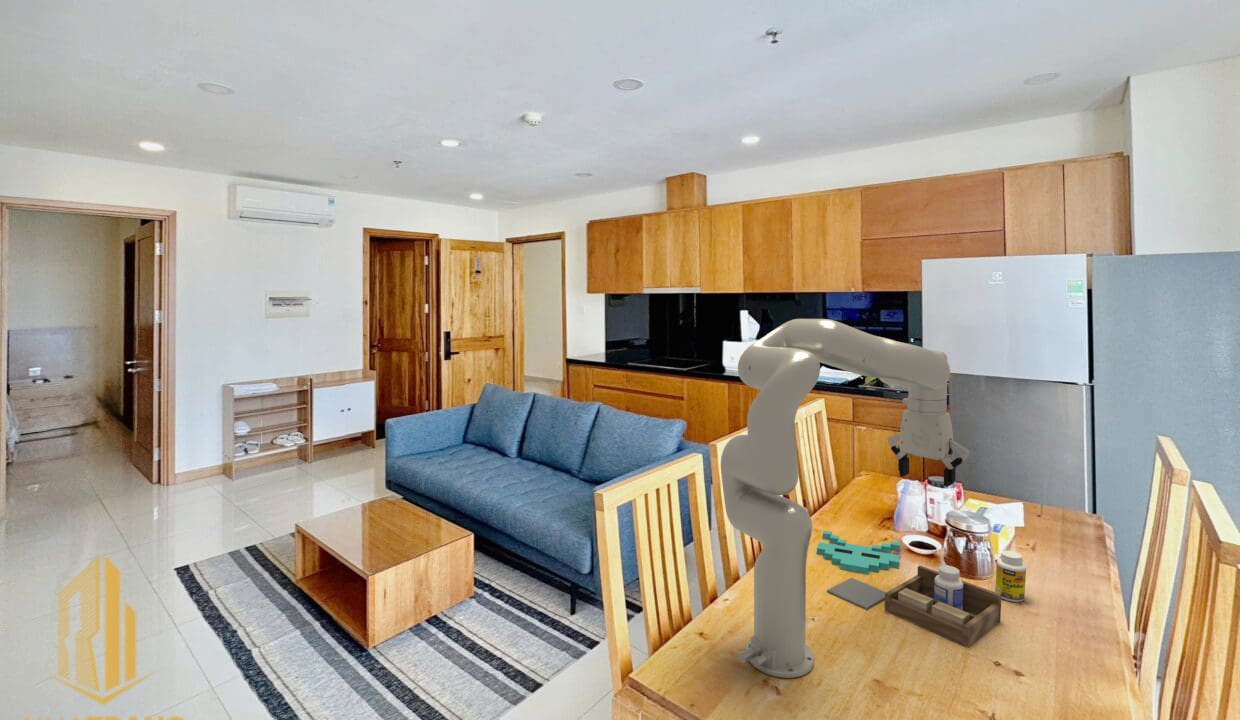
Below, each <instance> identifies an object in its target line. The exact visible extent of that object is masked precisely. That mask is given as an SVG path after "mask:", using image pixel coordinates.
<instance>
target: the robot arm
mask: <svg viewBox="0 0 1240 720" xmlns="http://www.w3.org/2000/svg"><path fill="white" fill-rule="evenodd" d="M820 363H821V364H824V365H827V366H830V367H834V368H837V369H840V370H844V371H846V372H848V373H852V374H856V375H859V376H864V377H869V378H874V379H875V378H877V379H878V380H880V381H881V383H884V384H886V385H888V386H893V387H901V388H908V396H907V398H905V397H904V398H903V399H902V404H903V405H906V407H907V409H904V411H903V413H902V419H901V424H900V429H899V430H900V432H899V434H896V435H893V436H889V437H888V438H887V442H888V444H889V446H890V450H891V451H892V453H894V455H895V457H896V459H897V460H898V464H897V465H898V472H899V477H906V476H907V475H909V474H910V458H909V455H910V456H915V457H920V458H926V459H931V460H940V461H941V462H942V463H943V465H945V468H944V469H943V486H944V487H946V488H948V487H950V486H952V485H953V484H954V483H955V482H956V468H958V467H959V466H960V465H961V464H962V463H964V462H966V461H965V460H966V459H967V457H968V456H969V454H970V450H969V449H967V448H966V447H965V446H963V445H961V444H960V443H959V442H956V441H954V433H953V424H952V419H951V414H950V413H949V412H947V406H948V404H947V401H948V399H947V397H948V396H947V395H948V389H947V388H948V382H949V380H950V376H951V366H950V364H949V362H948V356H947V354H946V352H943V351H940V350H932V349H931V350H930V349H928V348H925V347H922V346H920V345H919V346H918V345H916V344H915V345H914V344H910V343H906V342H901V341H898V340H897V341H896V340H895V339H891V338H886V337H881V336H877V335H873V334H871V333H868V332H865V331H862V330H860V329H858V328H855V327H852V326H849V325H848V324H845V323H842V322H840V321H837V320H833V319H830V318H829V319H828V318H827V319H826V318H796V319H795V318H794V319H791V320H789V321H786V322H784V323H782V324H781V325H779V326H778V327H775V328H774V329H773V330H772V331H769V332H768V333H767V334H766V335H764V336H763V337H761V338H760V339H758V340H757V341H756V342H753V343H752V344H751V345H750V346H748V347H747V348H746V349H745V350H744V351H743V353H742V354H741V356H740V357H739V360H738V363H737V373H738V376H739V378H740V380H741V381H742V383H743V384H745V385H747V386H748V387H750V388H753V389H756V390H759V392H758V393H757V395H756V397H755V398H754V399H753V400H752V402H751V405H750V406H749V409H748V412H747V416H746V417H747V418H746V425H747V426H746V428H747V434H738V435H735V436H733V437H732V438H731V439H730V440H728V441H727V443H726V444H725V446H724V447H723V451H722V453H721V456H720V457H721V458H720V475H721V482H722V484H721V485H722V490H723V498H724V499H723V501H724V508H725V513H726V516H727V519H728V521H729V523H730V525H731V526H732V527H734V529H736V530H737V531H739V532H740V533H742V534H744V535H745V536H749V537H751V538H752V539H754V540H755V541H757V542H760V543H761V545H762V549H761V551H760V553H759V554H758V556H757V558H756V559H755V562H754V565H753V566H754V567H753V612H754V613H753V630H754V631H753V636H751V637H750V640H748V641H747V644H746V645H745V649H743V650H742V651H740V652H738V653H737V659H738V661H739V662H740V663H741V664H745V663H748V662H749V663H750V664H751V665H752V666H753V667H754V668H756V669H757V670H759V671H761V672H762V673H764V674H765V675H769V676H772V677H776V678H784V679H785V678H786V679H791V678H798V677H799V678H800V677H801V676H804V675H806V674H808V673H809V672H811V670H812V669H813V667H814V664H815V659H814V658H815V657H814V653H813V651H812V650H811V648H810V646H808V645H807V644H806V623H807V622H806V616H807V615H806V611H807V609H806V605H807V602H806V601H807V599H806V597H807V593H806V592H807V589H806V588H807V578H806V577H807V561H808V560H807V558H808V551H809V547H810V542H811V539H812V533H813V522H812V517H811V516H810V514H809V512H808V510H806V509H805V508H804V507H803V506H802V505H801V504H799V503H797V502H796V501H794V500H791V499H789V498H787V497H784V496H785V495H788V494H790V493H792V492H793V491H794V490H795V489H796V487H797V485H798V481H799V461H798V451H797V450H798V449H797V440H796V425H795V424H796V416H797V412H798V410H799V408H800V406H801V405H802V403H803V401H804V400H805V399H806V398H807V396H808V394H809V393H810V392H811V391H812V390H813V389H814V387H815V385H816V384H817V383H818V379H819V377H820V374H821V364H820ZM898 441H899V442H898ZM954 451H956V452H957V453H958V456H957V457H956V458H955V457H954V456H953V453H954Z"/></svg>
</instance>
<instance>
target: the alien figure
mask: <svg viewBox="0 0 1240 720" xmlns="http://www.w3.org/2000/svg"><path fill="white" fill-rule="evenodd" d="M824 539H825V540H826V541H829V543H828V542H822V541H819V542H818V545H817V547H816V555H819V556H822V557H823V560H826V561H831V564H832V565H835V566H839V570H841V571H846V572H852V573H857V574H861V575H862V574H863V575H867V576H868V575H869V573H870V572H872V573H873V572H874V573H879V572H880V570H883V571H888V572H889V570H890V569H889V568H891V569H892V568H893V569H897V570H898V569H899V568H900V567H899V566H900V555H899V554H893V553H891V551H892V552H898V553H899V552H900V550H901V542H899V541H893V540H891V541H890V543H888V542H887V543H886V542H881V545H877V544H872V546H865V545H861V544H860V545H858V544H854V543H853V544H852V543H847V542H848V541H847V539H843V538H842V539H841V538H840V535H837V534H835V535H834V534H833V532H832V531H829V530H823V533H822V540H824Z"/></svg>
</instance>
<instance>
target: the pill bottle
mask: <svg viewBox="0 0 1240 720" xmlns="http://www.w3.org/2000/svg"><path fill="white" fill-rule="evenodd" d="M937 572H938V573H939V575H937V576H936V577H935V587H934V598H933V599H936V600H938V601H941V602H943V603H946V604H948V605H951V606H953V607H956V608H958V609H961V610H963V611H964V609H963V582H962V581H963V580H962V579H960V578H961V577H960V576H961V575H960V574H961V573H960V570H959V568H957V567H954V566H952V565H947V564H946V565H945V564H943V565H940V566H938V571H937ZM961 580H962V581H961Z"/></svg>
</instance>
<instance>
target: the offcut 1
mask: <svg viewBox="0 0 1240 720" xmlns="http://www.w3.org/2000/svg"><path fill="white" fill-rule="evenodd" d="M921 594H922V593H920V594H919V593H916V592H914V591H911V590H909V589H906V588H905V589H903V590H901V591H900V592H898V601H900V602H903V603H905V604H907V605H910V606H912V607H914V608H917V609H919V610H922V611H924V612H926V613H929V614H931V615H932V606H933V599H934V598H933V597H931V598H929V597H930V596H928V597H926V596H927V595H926V596H924V595H925V594H923V595H921ZM932 598H933V599H932Z"/></svg>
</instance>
